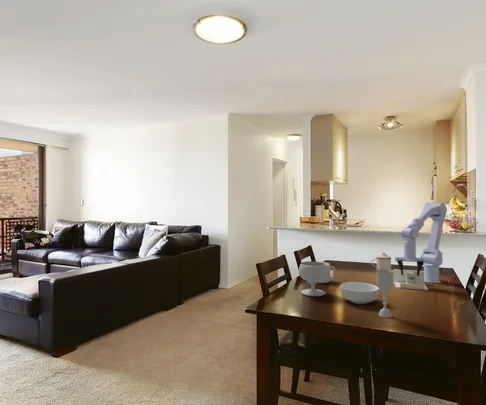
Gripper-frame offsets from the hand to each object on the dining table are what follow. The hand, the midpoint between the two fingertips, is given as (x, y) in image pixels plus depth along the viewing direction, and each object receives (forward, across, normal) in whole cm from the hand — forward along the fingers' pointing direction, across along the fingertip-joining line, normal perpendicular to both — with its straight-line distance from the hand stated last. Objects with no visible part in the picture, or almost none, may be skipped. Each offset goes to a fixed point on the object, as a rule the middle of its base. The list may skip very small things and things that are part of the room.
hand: (410, 275), depth 182 cm
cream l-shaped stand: (+6, 0, -1) cm, 6 cm away
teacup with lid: (+6, -13, +35) cm, 38 cm away
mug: (+6, -46, -3) cm, 46 cm away
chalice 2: (+6, -16, -53) cm, 55 cm away
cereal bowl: (+6, -26, -37) cm, 45 cm away
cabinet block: (+5, 0, 0) cm, 5 cm away
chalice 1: (+6, -48, -30) cm, 56 cm away
